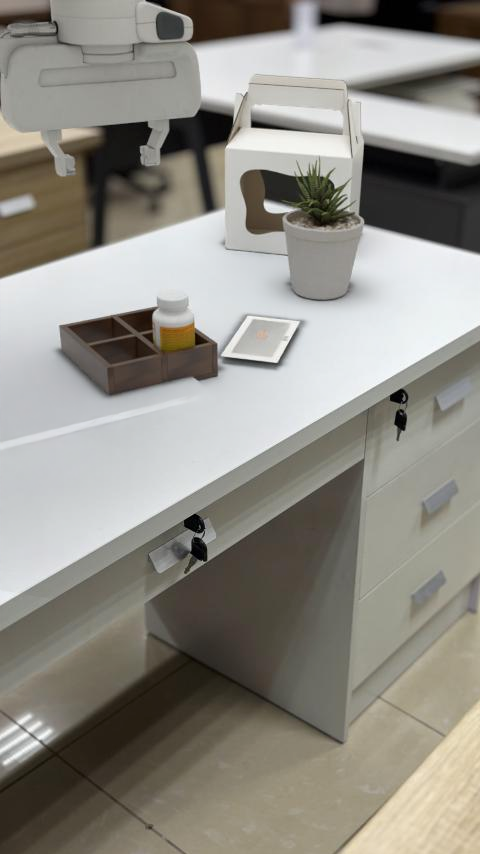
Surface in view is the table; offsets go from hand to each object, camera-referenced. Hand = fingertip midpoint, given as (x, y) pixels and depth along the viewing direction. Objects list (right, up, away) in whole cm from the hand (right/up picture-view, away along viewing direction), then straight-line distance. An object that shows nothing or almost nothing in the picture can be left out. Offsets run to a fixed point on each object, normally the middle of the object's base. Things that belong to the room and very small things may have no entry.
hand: (109, 169), depth 98 cm
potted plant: (+24, 0, +55) cm, 60 cm away
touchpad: (+15, -12, +36) cm, 41 cm away
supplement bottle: (+4, -17, +27) cm, 32 cm away
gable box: (+20, +12, +75) cm, 78 cm away
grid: (-1, -16, +29) cm, 33 cm away
